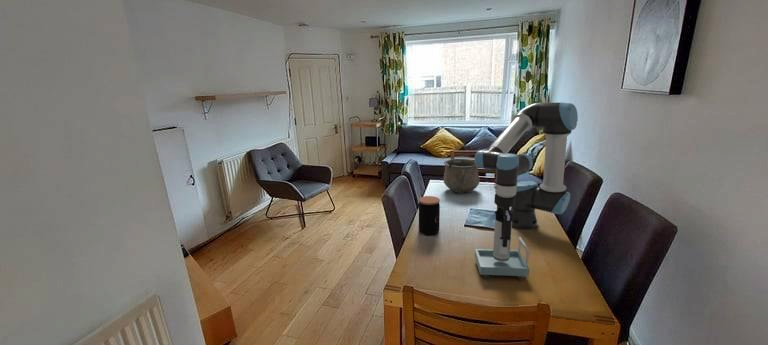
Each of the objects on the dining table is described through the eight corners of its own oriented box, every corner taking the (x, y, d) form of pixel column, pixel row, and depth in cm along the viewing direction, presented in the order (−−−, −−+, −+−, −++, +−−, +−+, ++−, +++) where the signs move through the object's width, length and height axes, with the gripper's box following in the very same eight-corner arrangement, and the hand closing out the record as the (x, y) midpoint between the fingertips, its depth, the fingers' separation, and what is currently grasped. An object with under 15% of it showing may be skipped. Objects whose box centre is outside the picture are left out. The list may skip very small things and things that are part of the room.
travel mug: (489, 254, 131) (492, 209, 125) (504, 253, 131) (508, 208, 126) (495, 262, 125) (499, 215, 119) (512, 261, 125) (516, 214, 120)
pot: (443, 196, 217) (444, 166, 212) (443, 185, 240) (443, 158, 234) (481, 197, 213) (482, 166, 208) (477, 186, 236) (478, 158, 230)
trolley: (517, 261, 135) (520, 235, 132) (528, 281, 122) (531, 252, 118) (474, 260, 137) (475, 234, 134) (479, 279, 124) (481, 250, 120)
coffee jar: (438, 237, 159) (439, 203, 155) (417, 235, 161) (417, 202, 157) (439, 228, 169) (440, 196, 165) (419, 226, 171) (419, 195, 167)
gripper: (489, 186, 130) (486, 237, 136) (501, 203, 112) (496, 261, 118) (508, 186, 130) (504, 238, 136) (523, 203, 111) (517, 262, 117)
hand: (501, 248), depth 127 cm, fingers closed on travel mug, 6 cm apart
